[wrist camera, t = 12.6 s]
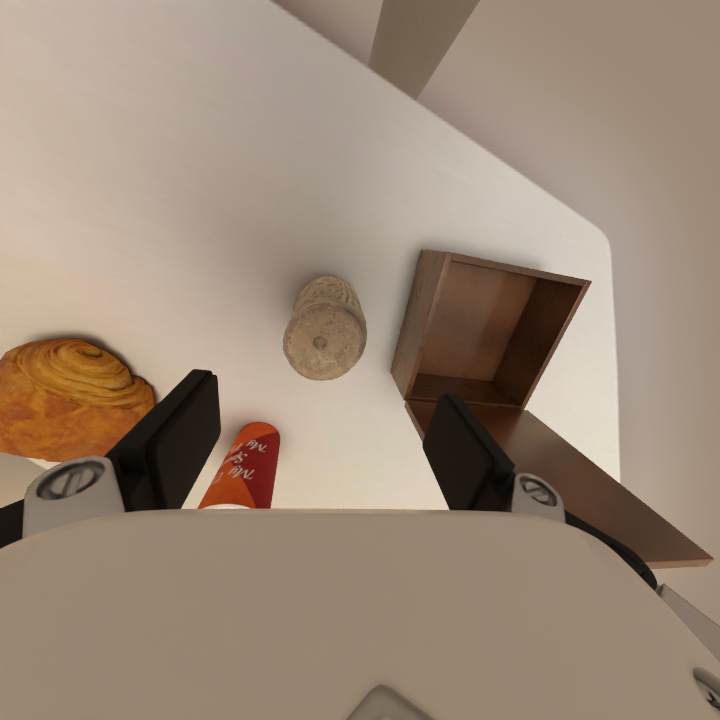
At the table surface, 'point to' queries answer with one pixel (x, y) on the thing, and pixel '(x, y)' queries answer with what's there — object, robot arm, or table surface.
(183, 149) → the table surface
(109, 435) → the croissant
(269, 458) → the paper cup
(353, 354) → the carving
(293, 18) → the table surface
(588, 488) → the chest lid
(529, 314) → the chest
